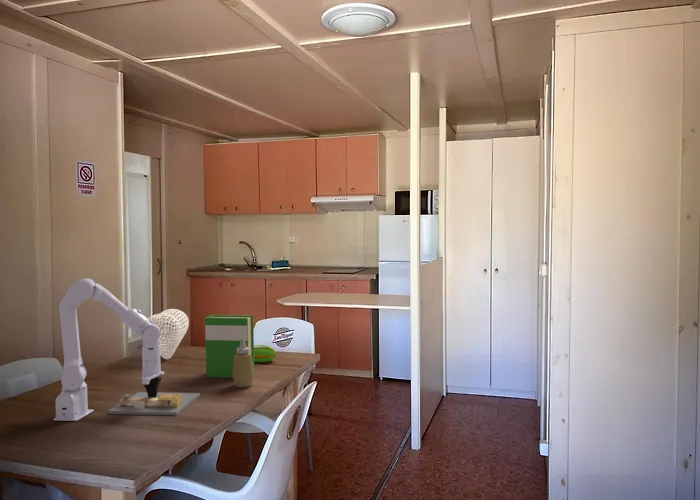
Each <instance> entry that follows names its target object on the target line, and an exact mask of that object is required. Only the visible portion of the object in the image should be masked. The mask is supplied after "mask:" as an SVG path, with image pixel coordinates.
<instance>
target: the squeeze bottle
mask: <svg viewBox="0 0 700 500" xmlns="http://www.w3.org/2000/svg"><path fill="white" fill-rule="evenodd" d="M254 378H255V368H254V369H253V361H252V354H250V353H249V348H248V347H246V344H245V340H244V338H242V339H241V342H240V347H239V348H237V354H235V356H234V366H233V378H232V380H233V382H234V384H235V387H236V388H241V389H242V388H249V387H251V386H252V385H253V380H254Z"/></svg>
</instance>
